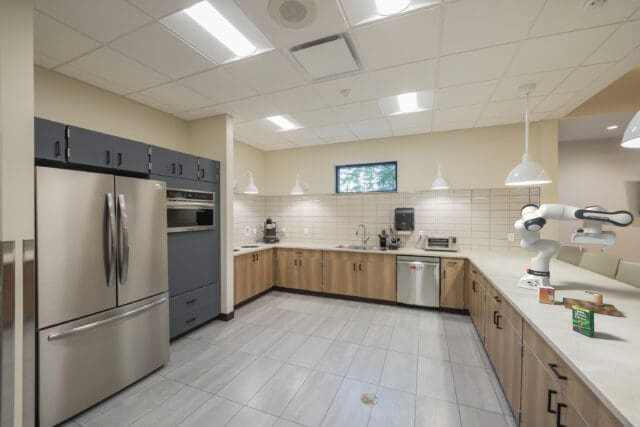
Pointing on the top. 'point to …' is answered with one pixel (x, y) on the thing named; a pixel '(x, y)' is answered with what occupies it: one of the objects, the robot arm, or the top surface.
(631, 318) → the top surface
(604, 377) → the top surface
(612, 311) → the walnut board
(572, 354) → the top surface
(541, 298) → the small box
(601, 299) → the oak peg
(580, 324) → the coffee box
